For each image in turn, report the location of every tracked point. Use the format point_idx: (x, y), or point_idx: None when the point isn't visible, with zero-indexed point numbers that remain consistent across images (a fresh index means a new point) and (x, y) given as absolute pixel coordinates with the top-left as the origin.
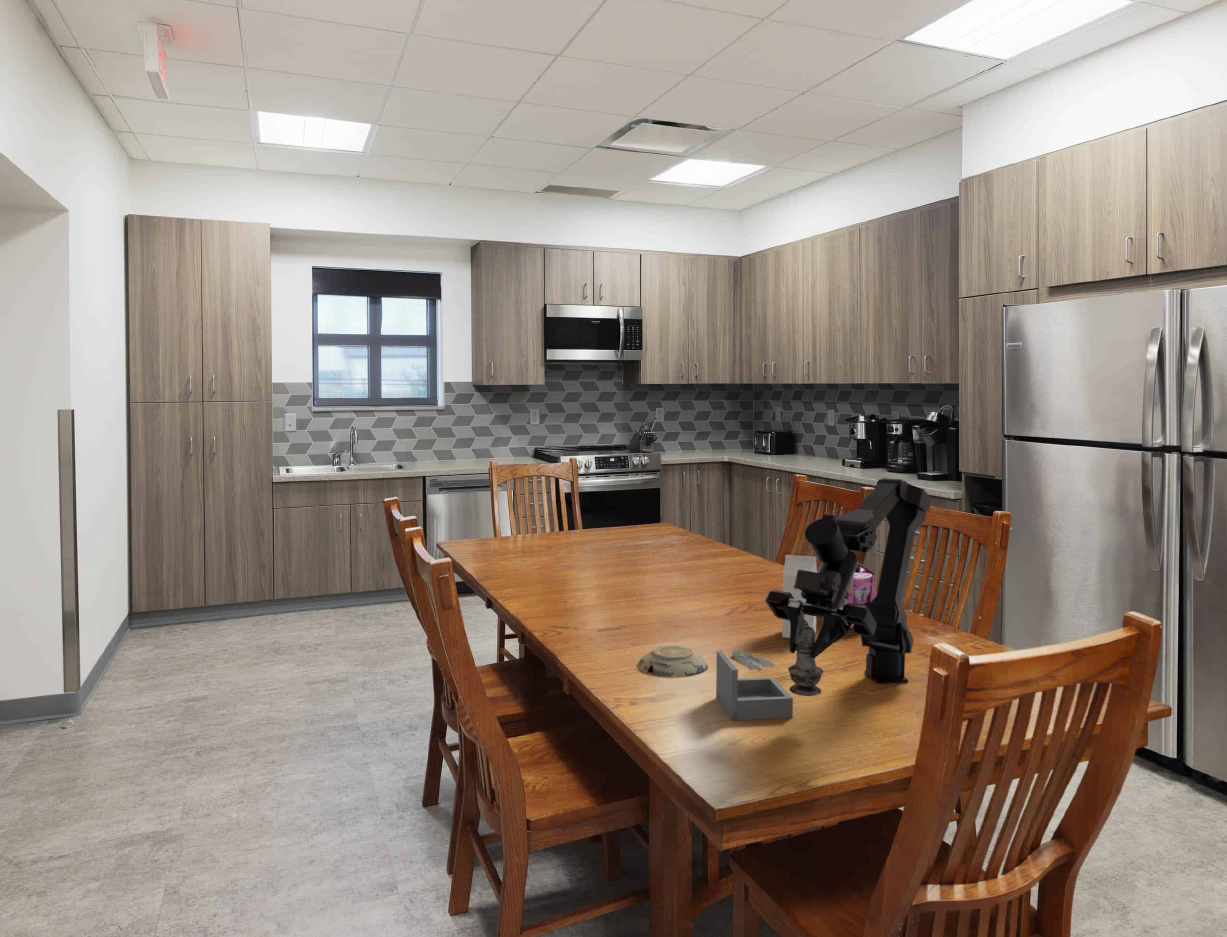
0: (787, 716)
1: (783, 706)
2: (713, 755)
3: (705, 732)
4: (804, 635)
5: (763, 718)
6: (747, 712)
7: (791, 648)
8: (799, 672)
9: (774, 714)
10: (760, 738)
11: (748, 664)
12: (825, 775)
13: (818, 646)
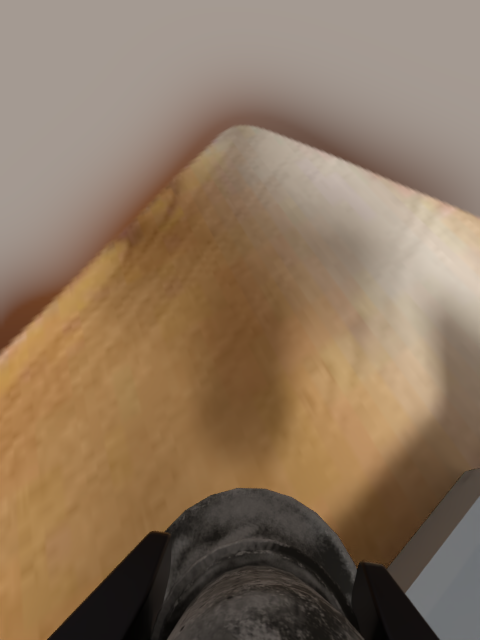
0: None
1: None
2: (353, 253)
3: (456, 348)
4: (241, 588)
5: (398, 556)
6: (444, 510)
7: (370, 570)
8: (254, 511)
9: None
10: (318, 397)
11: None
12: (99, 295)
13: (84, 601)
